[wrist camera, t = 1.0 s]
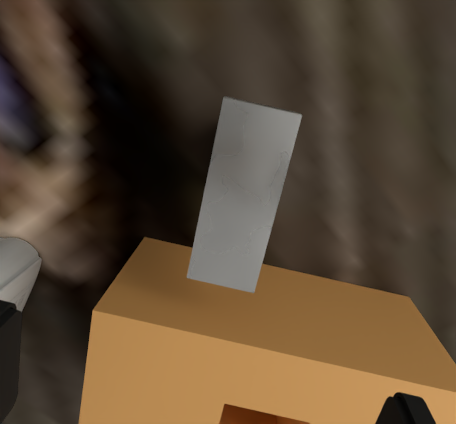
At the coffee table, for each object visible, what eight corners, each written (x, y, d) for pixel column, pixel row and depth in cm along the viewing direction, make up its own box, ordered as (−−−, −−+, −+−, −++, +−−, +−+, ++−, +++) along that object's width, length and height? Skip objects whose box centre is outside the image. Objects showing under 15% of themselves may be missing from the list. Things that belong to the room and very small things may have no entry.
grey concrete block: (234, 90, 26) (223, 97, 18) (287, 102, 26) (302, 115, 18) (207, 218, 29) (186, 277, 21) (254, 229, 29) (254, 293, 21)
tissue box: (144, 236, 30) (92, 310, 21) (408, 297, 30) (478, 397, 21) (120, 386, 34) (68, 503, 25) (350, 438, 35) (385, 574, 25)
